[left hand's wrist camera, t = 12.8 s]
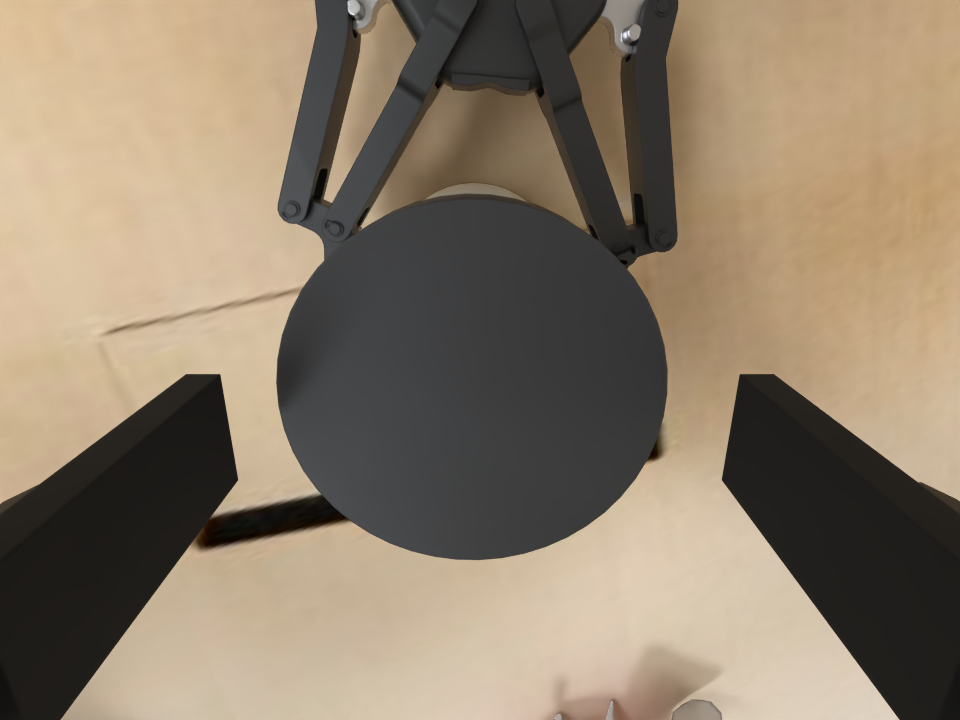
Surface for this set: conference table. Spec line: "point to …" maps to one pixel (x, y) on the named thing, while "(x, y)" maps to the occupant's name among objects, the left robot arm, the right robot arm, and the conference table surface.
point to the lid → (472, 378)
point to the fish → (681, 711)
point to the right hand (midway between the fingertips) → (467, 384)
